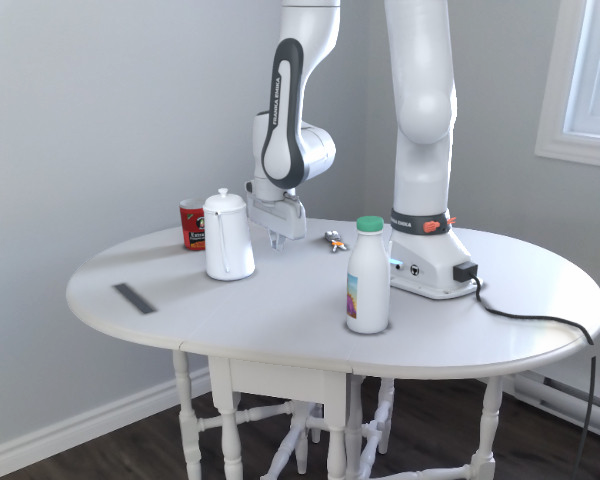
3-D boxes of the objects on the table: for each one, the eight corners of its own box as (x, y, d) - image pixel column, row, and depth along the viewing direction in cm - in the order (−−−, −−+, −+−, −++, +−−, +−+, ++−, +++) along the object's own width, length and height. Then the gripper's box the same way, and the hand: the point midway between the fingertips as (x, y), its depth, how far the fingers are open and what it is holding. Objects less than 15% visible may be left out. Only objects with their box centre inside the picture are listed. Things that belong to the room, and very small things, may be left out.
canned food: (190, 252, 158) (185, 208, 152) (180, 244, 164) (174, 200, 158) (219, 247, 161) (215, 203, 155) (208, 239, 167) (203, 196, 161)
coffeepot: (198, 296, 134) (186, 205, 124) (214, 256, 155) (205, 176, 145) (249, 294, 134) (242, 204, 124) (258, 255, 155) (253, 174, 145)
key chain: (323, 236, 166) (323, 230, 165) (337, 235, 166) (337, 229, 165) (333, 252, 155) (333, 246, 154) (348, 251, 155) (348, 245, 154)
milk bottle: (392, 319, 121) (397, 213, 110) (383, 337, 115) (387, 226, 104) (352, 315, 123) (354, 211, 113) (341, 332, 117) (342, 223, 106)
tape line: (153, 310, 128) (153, 310, 128) (144, 313, 127) (144, 312, 127) (123, 284, 141) (123, 283, 141) (114, 286, 140) (114, 285, 140)
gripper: (313, 195, 135) (314, 258, 142) (264, 177, 150) (267, 235, 157) (287, 200, 132) (290, 264, 139) (240, 181, 147) (244, 240, 154)
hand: (277, 249), depth 148 cm, fingers closed
